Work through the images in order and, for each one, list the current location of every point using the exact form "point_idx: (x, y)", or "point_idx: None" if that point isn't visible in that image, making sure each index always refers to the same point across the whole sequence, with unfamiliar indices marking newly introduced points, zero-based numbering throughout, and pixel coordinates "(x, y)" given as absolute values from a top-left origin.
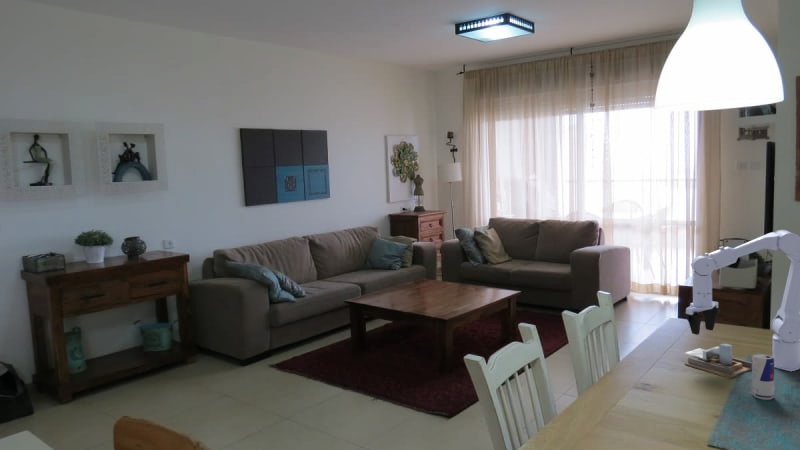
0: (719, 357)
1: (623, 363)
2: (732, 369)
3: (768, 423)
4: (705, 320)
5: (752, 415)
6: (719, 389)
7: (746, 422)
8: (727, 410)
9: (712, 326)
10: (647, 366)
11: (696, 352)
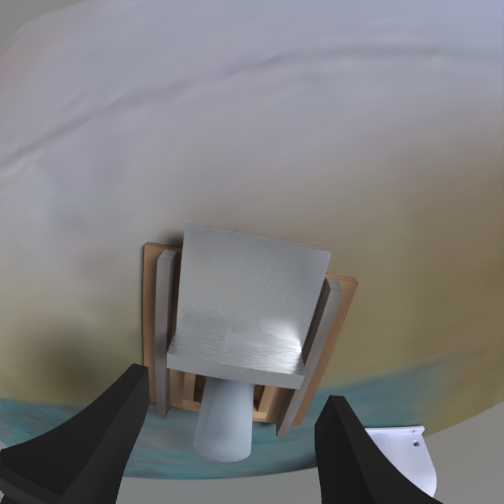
0: (214, 386)
1: (8, 52)
2: (164, 417)
3: None
4: (350, 450)
5: (29, 433)
6: (58, 387)
7: (7, 425)
8: (7, 405)
9: (316, 454)
10: (28, 133)
11: (241, 275)
